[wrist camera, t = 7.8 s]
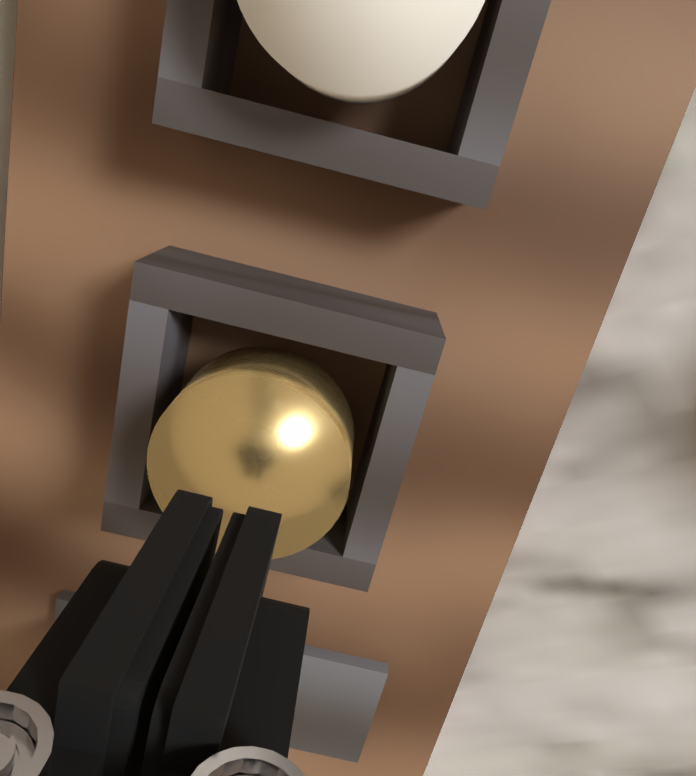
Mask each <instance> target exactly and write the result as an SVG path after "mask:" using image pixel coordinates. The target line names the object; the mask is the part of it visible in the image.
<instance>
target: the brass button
mask: <svg viewBox="0 0 696 776" xmlns="http://www.w3.org/2000/svg"><path fill="white" fill-rule="evenodd" d="M353 444H354V424H353V418H352V414H351V410H350V407H349V405H348V402H347V400H346V398H345V396H344V394H343V392H342V391H341V389H340V388H339V386H338V385H337V384H336V382H335V381H334V380H333V379H332V378H331V377H330V376H329V375H328V374H327V373H326V372H325V371H324V370H323V369H322V368H320V367H319V366H318V365H317V364H315V363H313V362H312V361H310V360H309V359H307V358H305V357H303V356H301V355H298V354H296V353H294V352H291V351H287V350H284V349H279V348H274V347H262V346H257V347H245V348H241V349H236V350H233V351H230V352H227V353H224V354H222V355H220V356H218V357H216V358H214V359H213V360H211V361H210V362H208V363H207V364H205V365H204V366H203V367H202V368H201V369H200V370H199V371H198V372H197V373H196V374H195V375H194V376H193V377H192V379H191V380H190V381H189V382H188V384H187V385H186V386H185V387H184V388H183V390H182V391H181V392H180V393H179V394H178V396H177V397H176V398H175V399H174V401H173V402H172V403H171V404H170V405H169V407H168V408H167V409H166V410H165V412H164V413H163V414H162V415H161V417H160V418H159V420H158V422H157V424H156V425H155V427H154V430H153V432H152V435H151V437H150V441H149V445H148V450H147V474H148V479H149V483H150V487H151V490H152V492H153V495H154V498H155V500H156V501H157V503H158V505H159V507H160V509H161V510H162V512H164V510H165V509H166V507H167V505H168V504H169V502H170V501H171V499H172V497H173V496H174V494H175V492H176V491H177V490H178V489H180V490H184V491H188V492H193V493H197V494H201V495H205V496H209V497H212V498H213V503H212V507H216V508H220V509H223V516H222V522H221V526H220V531H219V536H218V541H217V546H216V551H215V553H216V552H217V549H218V547H219V545H220V542H221V540H222V537H223V535H224V533H225V530H226V528H227V525H228V523H229V521H230V518H231V516H232V514H233V512H237V513H241V514H245V515H246V512H247V509H248V507H249V506H251V507H256V508H260V509H264V510H268V511H272V512H277V513H281V514H282V517H281V521H280V526H279V530H278V534H277V538H276V542H275V546H274V551H273V555H272V559H277V558H282V557H285V556H289V555H292V554H295V553H297V552H299V551H302V550H304V549H306V548H307V547H309V546H311V545H312V544H314V543H315V542H317V541H318V540H319V539H320V538H322V537H323V536H324V535H325V534H326V533H327V532H328V531H329V530H330V529H331V528H332V526H333V525H334V524H335V522H336V521H337V520H338V518H339V516H340V514H341V512H342V511H343V509H344V506H345V503H346V501H347V498H348V493H349V488H350V479H351V467H352V456H353Z"/></svg>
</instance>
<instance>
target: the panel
mask: <svg viewBox="0 0 696 776" xmlns="http://www.w3.org/2000/svg"><path fill="white" fill-rule="evenodd" d="M695 87H696V0H485V2H484V4H483V6H482V9H481V11H480V13H479V15H478V17H477V19H476V21H475V22H474V24H473V26H472V27H471V29H470V31H469V32H468V34H467V35H466V37H465V38H464V39H463V41H462V42H461V43H460V45H459V46H458V47H457V49H456V50H455V51H454V53H453V54H452V55H451V56H450V58H449V59H448V60H447V61H446V63H445V64H444V65H443V66H442V67H441V68H440V69H439V70H438V71H437V72H436V73H435V74H434V75H433V76H432V77H431V78H430V79H429V80H427V81H426V82H425V83H423V84H422V85H421V86H419V87H418V88H416V89H414V90H412V91H410V92H409V93H407V94H405V95H402V96H400V97H397V98H395V99H391V100H387V101H383V102H379V103H369V104H357V103H347V102H342V101H337V100H334V99H331V98H328V97H325V96H323V95H321V94H319V93H317V92H315V91H313V90H311V89H310V88H308V87H307V86H305V85H304V84H302V83H301V82H299V81H298V80H297V79H296V78H295V77H294V76H293V75H291V74H290V73H289V72H288V71H287V70H286V69H285V68H283V67H282V66H281V65H280V64H279V63H278V62H277V61H276V60H275V59H274V58H272V57H271V56H270V54H269V53H268V52H267V51H266V50H265V49H264V47H263V46H262V45H261V44H260V43H259V41H258V40H257V38H256V37H255V35H254V34H253V32H252V31H251V29H250V28H249V26H248V24H247V22H246V20H245V18H244V16H243V14H242V12H241V10H240V7H239V5H238V2H237V0H18V5H17V24H16V42H15V60H14V79H13V97H12V116H11V134H10V152H9V171H8V189H7V207H6V226H5V244H4V263H3V281H2V299H1V318H0V690H4V691H6V690H7V688H8V687H9V686H10V684H11V683H12V681H13V680H14V679H15V677H16V676H17V674H18V673H19V672H20V670H21V669H22V667H23V666H24V664H25V663H26V662H27V660H28V659H29V657H30V656H31V655H32V653H33V652H34V650H35V649H36V647H37V646H38V645H39V643H40V642H41V640H42V639H43V638H44V636H45V635H46V633H47V632H48V631H49V629H50V628H51V626H52V625H53V623H54V622H55V621H56V619H57V618H58V616H59V615H60V614H61V612H62V611H63V609H64V608H65V606H66V605H67V604H68V602H69V601H70V599H71V598H72V597H73V595H74V594H75V592H76V591H77V589H78V588H79V587H80V585H81V584H82V582H83V581H84V580H85V578H86V577H87V575H88V574H89V573H90V571H91V570H92V568H93V567H94V566H95V565H96V564H97V562H99V561H101V560H106V561H110V562H114V563H119V564H123V565H127V566H130V565H131V564H132V562H133V560H134V559H135V557H136V556H137V554H138V552H139V551H140V549H141V548H142V546H143V544H144V543H145V541H146V539H147V538H148V536H149V535H150V533H151V531H152V530H153V528H154V526H155V525H156V523H157V522H158V520H159V518H160V517H161V515H162V513H163V512H162V510H161V509H160V507H159V505H158V503H157V501H156V500H155V498H154V495H153V492H152V490H151V487H150V483H149V479H148V474H147V450H148V445H149V441H150V437H151V435H152V432H153V430H154V427H155V425H156V424H157V422H158V420H159V418H160V417H161V415H162V414H163V413H164V412H165V410H166V409H167V408H168V407H169V405H170V404H171V403H172V402H173V401H174V399H175V398H176V397H177V396H178V394H179V393H180V392H181V391H182V390H183V388H184V387H185V386H186V385H187V384H188V382H189V381H190V380H191V379H192V377H193V376H194V375H195V374H196V373H197V372H198V371H199V370H200V369H201V368H202V367H203V366H204V365H205V364H207V363H208V362H210V361H211V360H213V359H214V358H216V357H218V356H220V355H222V354H224V353H227V352H230V351H233V350H236V349H241V348H245V347H257V346H262V347H274V348H279V349H284V350H287V351H291V352H294V353H296V354H298V355H301V356H303V357H305V358H307V359H309V360H310V361H312V362H313V363H315V364H317V365H318V366H319V367H320V368H322V369H323V370H324V371H325V372H326V373H327V374H328V375H329V376H330V377H331V378H332V379H333V380H334V381H335V382H336V384H337V385H338V386H339V388H340V389H341V391H342V392H343V394H344V396H345V398H346V400H347V402H348V405H349V407H350V410H351V414H352V418H353V424H354V444H353V456H352V467H351V479H350V488H349V493H348V498H347V501H346V503H345V506H344V509H343V511H342V512H341V514H340V516H339V518H338V520H337V521H336V522H335V524H334V525H333V526H332V528H331V529H330V530H329V531H328V532H327V533H326V534H325V535H324V536H323V537H322V538H320V539H319V540H318V541H317V542H315V543H314V544H312V545H311V546H309V547H307V548H306V549H304V550H302V551H299V552H297V553H295V554H292V555H289V556H285V557H282V558H277V559H271V563H270V567H269V571H268V575H267V580H266V584H265V588H264V592H263V596H262V597H265V598H269V599H273V600H278V601H282V602H286V603H291V604H295V605H299V606H304V607H308V608H310V613H309V621H308V627H307V634H306V640H305V647H304V653H303V660H302V667H301V673H300V680H299V686H298V693H297V700H296V706H295V713H294V719H293V726H292V733H291V739H290V746H289V752H288V759H289V760H291V761H292V762H293V763H294V764H295V765H296V766H297V767H298V768H299V769H300V770H301V771H302V772H303V773H304V774H305V775H306V776H423V774H424V771H425V769H426V766H427V764H428V761H429V759H430V756H431V754H432V751H433V749H434V746H435V743H436V741H437V738H438V736H439V733H440V731H441V728H442V726H443V723H444V721H445V718H446V716H447V713H448V711H449V708H450V706H451V703H452V701H453V698H454V695H455V693H456V690H457V688H458V685H459V683H460V680H461V678H462V675H463V673H464V670H465V668H466V665H467V663H468V660H469V658H470V655H471V653H472V650H473V647H474V645H475V642H476V640H477V637H478V635H479V632H480V630H481V627H482V625H483V622H484V620H485V617H486V615H487V612H488V610H489V607H490V605H491V602H492V599H493V597H494V594H495V592H496V589H497V587H498V584H499V582H500V579H501V577H502V574H503V572H504V569H505V567H506V564H507V562H508V559H509V557H510V554H511V551H512V549H513V546H514V544H515V541H516V539H517V536H518V534H519V531H520V529H521V526H522V524H523V521H524V519H525V516H526V514H527V511H528V509H529V506H530V503H531V501H532V498H533V496H534V493H535V491H536V488H537V486H538V483H539V481H540V478H541V476H542V473H543V471H544V468H545V466H546V463H547V460H548V458H549V455H550V453H551V450H552V448H553V445H554V443H555V440H556V438H557V435H558V433H559V430H560V428H561V425H562V423H563V420H564V418H565V415H566V412H567V410H568V407H569V405H570V402H571V400H572V397H573V395H574V392H575V390H576V387H577V385H578V382H579V380H580V377H581V375H582V372H583V370H584V367H585V364H586V362H587V359H588V357H589V354H590V352H591V349H592V347H593V344H594V342H595V339H596V337H597V334H598V332H599V329H600V327H601V324H602V322H603V319H604V316H605V314H606V311H607V309H608V306H609V304H610V301H611V299H612V296H613V294H614V291H615V289H616V286H617V284H618V281H619V279H620V276H621V274H622V271H623V268H624V266H625V263H626V261H627V258H628V256H629V253H630V251H631V248H632V246H633V243H634V241H635V238H636V236H637V233H638V231H639V228H640V226H641V223H642V220H643V218H644V215H645V213H646V210H647V208H648V205H649V203H650V200H651V198H652V195H653V193H654V190H655V188H656V185H657V183H658V180H659V177H660V175H661V172H662V170H663V167H664V165H665V162H666V160H667V157H668V155H669V152H670V150H671V147H672V145H673V142H674V140H675V137H676V135H677V132H678V129H679V127H680V124H681V122H682V119H683V117H684V114H685V112H686V109H687V107H688V104H689V102H690V99H691V97H692V94H693V92H694V89H695ZM215 554H216V553H215ZM214 557H215V556H214Z"/></svg>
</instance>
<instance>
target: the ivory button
mask: <svg viewBox="0 0 696 776" xmlns="http://www.w3.org/2000/svg"><path fill="white" fill-rule="evenodd" d="M237 2H238V5H239V7H240V10H241V12H242V14H243V16H244V18H245V20H246V22H247V24H248V26H249V28H250V29H251V31H252V32H253V34H254V35H255V37H256V38H257V40H258V41H259V43H260V44H261V45H262V46H263V47H264V49H265V50H266V51H267V52H268V53H269V54H270V56H271V57H272V58H274V59H275V60H276V61H277V62H278V63H279V64H280V65H281V66H282V67H283V68H285V69H286V70H287V71H288V72H289V73H290V74H291V75H293V76H294V77H295V78H296V79H297V80H298V81H299V82H301V83H302V84H304V85H305V86H307V87H308V88H310V89H311V90H313V91H315V92H317V93H319V94H321V95H323V96H325V97H328V98H331V99H334V100H337V101H342V102H347V103H357V104H369V103H379V102H383V101H387V100H391V99H395V98H397V97H400V96H402V95H405V94H407V93H409V92H410V91H412V90H414V89H416V88H418V87H419V86H421V85H422V84H423V83H425V82H426V81H427V80H429V79H430V78H431V77H432V76H433V75H434V74H435V73H436V72H437V71H438V70H439V69H440V68H441V67H442V66H443V65H444V64H445V63H446V61H447V60H448V59H449V58H450V56H451V55H452V54H453V53H454V51H455V50H456V49H457V47H458V46H459V45H460V43H461V42H462V41H463V39H464V38H465V37H466V35H467V34H468V32H469V31H470V29H471V27H472V26H473V24H474V22H475V21H476V19H477V17H478V15H479V13H480V11H481V9H482V6H483V4H484V2H485V0H237Z"/></svg>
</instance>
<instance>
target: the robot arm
mask: <svg viewBox="0 0 696 776" xmlns="http://www.w3.org/2000/svg"><path fill="white" fill-rule="evenodd" d="M212 503H213V498H212V497H209V496H205V495H201V494H197V493H193V492H188V491H184V490H180V489H178V490H177V491H176V492H175V494H174V496H173V497H172V499H171V501H170V502H169V504H168V505H167V507H166V509H165V510H164V512H163V513H162V515H161V517H160V518H159V520H158V522H157V523H156V525H155V526H154V528H153V530H152V531H151V533H150V535H149V536H148V538H147V539H146V541H145V543H144V544H143V546H142V548H141V549H140V551H139V552H138V554H137V556H136V557H135V559H134V560H133V562H132V564H131V565H130V566H127V565H123V564H119V563H114V562H110V561H106V560H101V561H99V562H97V564H96V565H95V566H94V567H93V568H92V570H91V571H90V573H89V574H88V575H87V577H86V578H85V580H84V581H83V582H82V584H81V585H80V587H79V588H78V589H77V591H76V592H75V594H74V595H73V597H72V598H71V599H70V601H69V602H68V604H67V605H66V606H65V608H64V609H63V611H62V612H61V614H60V615H59V616H58V618H57V619H56V621H55V622H54V623H53V625H52V626H51V628H50V629H49V631H48V632H47V633H46V635H45V636H44V638H43V639H42V640H41V642H40V643H39V645H38V646H37V647H36V649H35V650H34V652H33V653H32V655H31V656H30V657H29V659H28V660H27V662H26V663H25V664H24V666H23V667H22V669H21V670H20V672H19V673H18V674H17V676H16V677H15V679H14V680H13V681H12V683H11V684H10V686H9V687H8V688H7V690H6V691H4V690H0V776H306V775H305V774H304V773H303V772H302V771H301V770H300V769H299V768H298V767H297V766H296V765H295V764H294V763H293V762H292V761H291V760H289V759H288V752H289V746H290V739H291V733H292V726H293V719H294V713H295V706H296V700H297V693H298V686H299V680H300V673H301V667H302V660H303V653H304V647H305V640H306V634H307V627H308V621H309V613H310V608H308V607H304V606H299V605H295V604H291V603H286V602H282V601H278V600H273V599H269V598H265V597H262V596H263V592H264V588H265V584H266V580H267V575H268V571H269V567H270V563H271V559H272V555H273V551H274V546H275V542H276V538H277V534H278V530H279V526H280V521H281V517H282V514H281V513H277V512H272V511H268V510H264V509H260V508H256V507H251V506H249V507H248V509H247V512H246V515H245V514H241V513H237V512H233V514H232V516H231V518H230V521H229V523H228V525H227V528H226V530H225V533H224V535H223V537H222V540H221V542H220V545H219V547H218V549H217V552H216V554H215V551H216V546H217V541H218V536H219V531H220V526H221V522H222V516H223V509H220V508H216V507H212ZM214 556H215V557H214Z"/></svg>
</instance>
